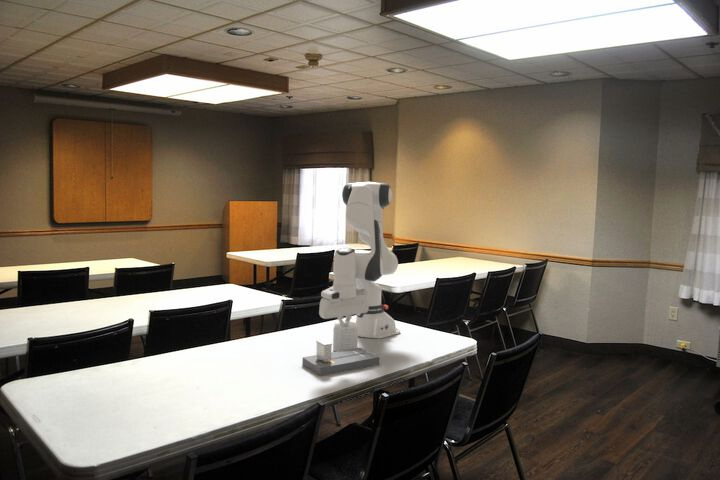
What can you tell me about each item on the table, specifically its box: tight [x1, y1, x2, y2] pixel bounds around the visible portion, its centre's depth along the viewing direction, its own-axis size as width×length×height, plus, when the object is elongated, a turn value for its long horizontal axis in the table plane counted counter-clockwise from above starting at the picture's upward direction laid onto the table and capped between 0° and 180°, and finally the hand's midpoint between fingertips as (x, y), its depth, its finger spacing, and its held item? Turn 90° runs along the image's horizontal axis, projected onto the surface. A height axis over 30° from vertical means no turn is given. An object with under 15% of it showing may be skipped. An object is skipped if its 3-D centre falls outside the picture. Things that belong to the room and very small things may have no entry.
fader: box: [316, 339, 333, 362], centre depth 202 cm, size 3×6×7 cm, turn 33°
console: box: [301, 347, 381, 377], centre depth 207 cm, size 26×14×3 cm, turn 123°
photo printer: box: [332, 320, 359, 352], centre depth 225 cm, size 10×4×12 cm, turn 98°
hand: (344, 326), depth 207 cm, fingers closed
